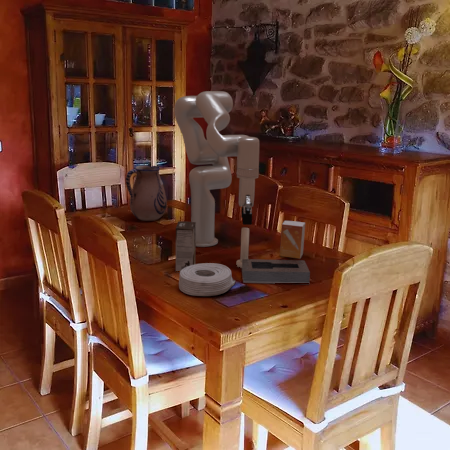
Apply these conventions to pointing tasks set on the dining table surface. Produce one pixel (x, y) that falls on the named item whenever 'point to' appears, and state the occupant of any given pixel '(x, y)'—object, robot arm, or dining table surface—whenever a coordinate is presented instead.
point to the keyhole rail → (275, 271)
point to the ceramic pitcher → (146, 193)
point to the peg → (244, 246)
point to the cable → (205, 279)
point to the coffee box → (185, 244)
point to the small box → (292, 239)
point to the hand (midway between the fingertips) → (246, 221)
